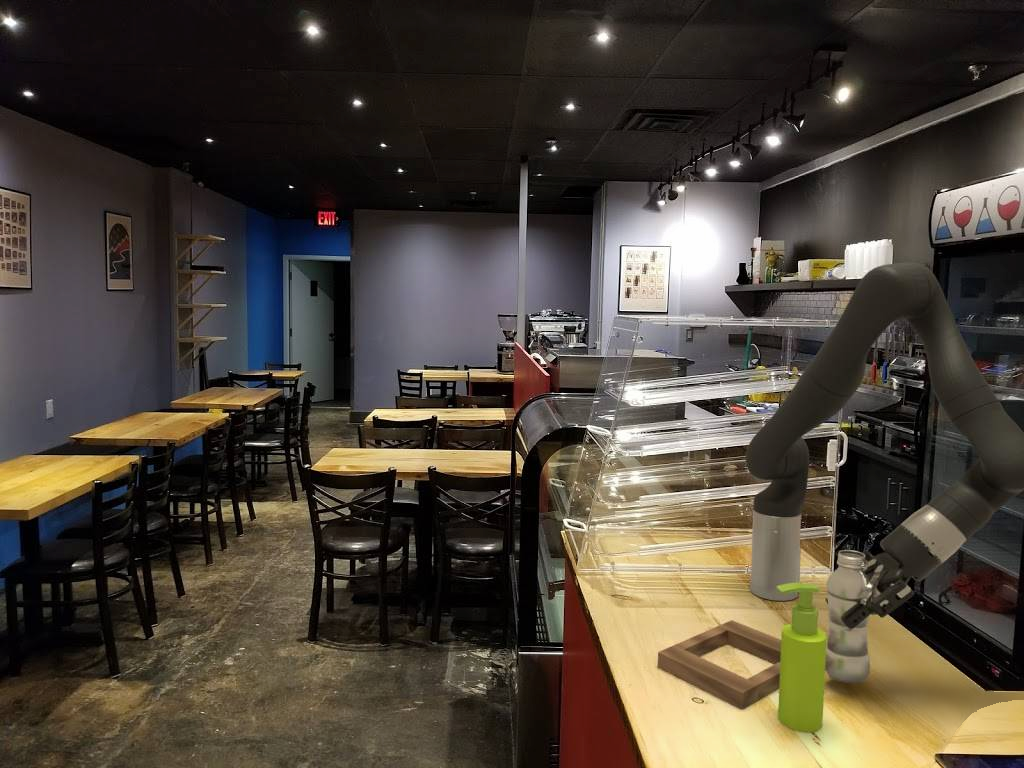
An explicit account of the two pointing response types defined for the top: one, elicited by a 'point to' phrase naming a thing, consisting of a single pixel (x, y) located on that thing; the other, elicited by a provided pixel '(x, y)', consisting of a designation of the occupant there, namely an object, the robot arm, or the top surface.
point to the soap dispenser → (802, 663)
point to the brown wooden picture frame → (717, 679)
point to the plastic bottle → (844, 644)
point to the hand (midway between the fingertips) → (837, 614)
